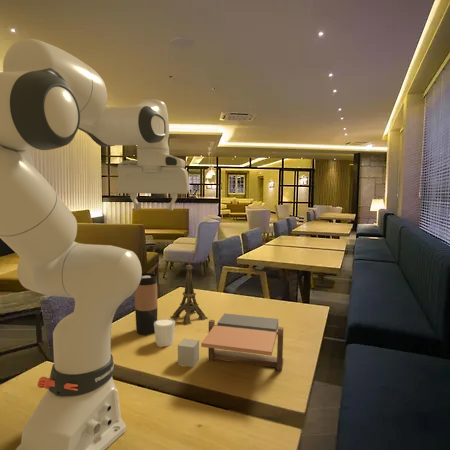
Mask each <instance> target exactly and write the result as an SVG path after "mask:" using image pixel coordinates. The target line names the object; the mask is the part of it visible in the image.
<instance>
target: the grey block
mask: <svg viewBox="0 0 450 450" xmlns="http://www.w3.org/2000/svg"><path fill="white" fill-rule="evenodd" d="M199 360H200V340H199V339H191V338H183V339H181V341H180V342H179V343H178V345H177V366H179V365H183V366H182V367H186V366H189V367H188V368H193V367H194V368H195V367H196V365H197V364H198V362H199Z"/></svg>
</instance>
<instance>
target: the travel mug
mask: <svg viewBox="0 0 450 450" xmlns="http://www.w3.org/2000/svg"><path fill="white" fill-rule="evenodd" d="M134 303H135V304H134V308H135V310H134V311H135V326H136V327H135V331H136V334H138V335H140V336H149V335H153V334H155V330H154V322H155V321H157V320H158V275H157V273H156V274H155V273H152V272H144V273H143V272H142V276H141V281H140V283H139V286H138V287H137V289H136V290H135V292H134Z"/></svg>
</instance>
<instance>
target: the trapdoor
mask: <svg viewBox="0 0 450 450" xmlns="http://www.w3.org/2000/svg"><path fill="white" fill-rule="evenodd" d="M215 325H220V326H215ZM215 325H214V326H213V328H212V329H211V331H210V332H209V331H208V332H207V335H206V336H205V338H204V339H203V340H202V341H201V342H200V343H201V344H200V347H201V348H207V349H208V348H214V349H217V350H225V351H233V352H241V353H248V354H256V355H264V356H272V355H273V351H274V347H275V344H276V341H277V340H276V339H277V337H278V335H277V332H278V327H279V318H275V317H274V318H273V317H264V316H262V317H261V316H254V315H243V314H234V313H233V314H232V313H223V315H222V316H221V317H220V319H219V320H218V321H217V323H216V324H215ZM224 326H229V327H224ZM233 327H238V328H233ZM242 328H247V329H242ZM251 329H256V330H251ZM260 330H265V331H260ZM269 331H274V332H269ZM272 357H273V356H272Z"/></svg>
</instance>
